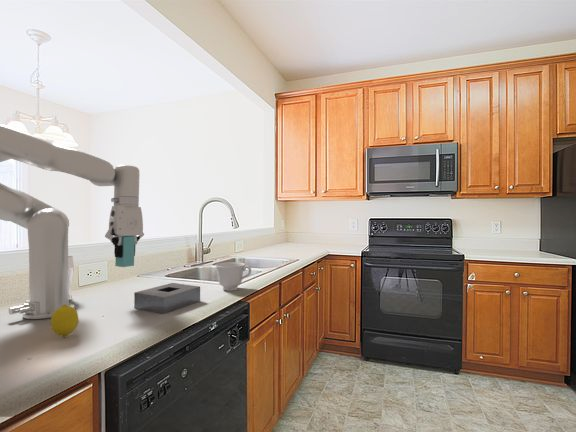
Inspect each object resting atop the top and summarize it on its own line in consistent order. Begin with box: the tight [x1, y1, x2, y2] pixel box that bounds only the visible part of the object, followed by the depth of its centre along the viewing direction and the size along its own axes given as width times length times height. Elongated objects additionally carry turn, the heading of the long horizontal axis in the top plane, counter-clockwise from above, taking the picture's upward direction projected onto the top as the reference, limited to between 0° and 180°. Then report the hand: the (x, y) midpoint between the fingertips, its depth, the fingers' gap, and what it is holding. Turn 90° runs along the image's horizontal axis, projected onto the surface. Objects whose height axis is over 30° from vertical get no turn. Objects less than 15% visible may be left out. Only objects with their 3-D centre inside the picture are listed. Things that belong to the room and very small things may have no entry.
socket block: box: [133, 282, 201, 315], centre depth 107 cm, size 16×13×5 cm
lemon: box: [50, 305, 79, 338], centre depth 78 cm, size 6×6×8 cm
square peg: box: [114, 236, 136, 268], centre depth 108 cm, size 4×4×10 cm
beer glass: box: [68, 255, 74, 302], centre depth 111 cm, size 7×7×15 cm
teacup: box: [214, 261, 252, 292], centre depth 128 cm, size 12×15×10 cm
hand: (125, 255), depth 108 cm, fingers closed on square peg, 4 cm apart
